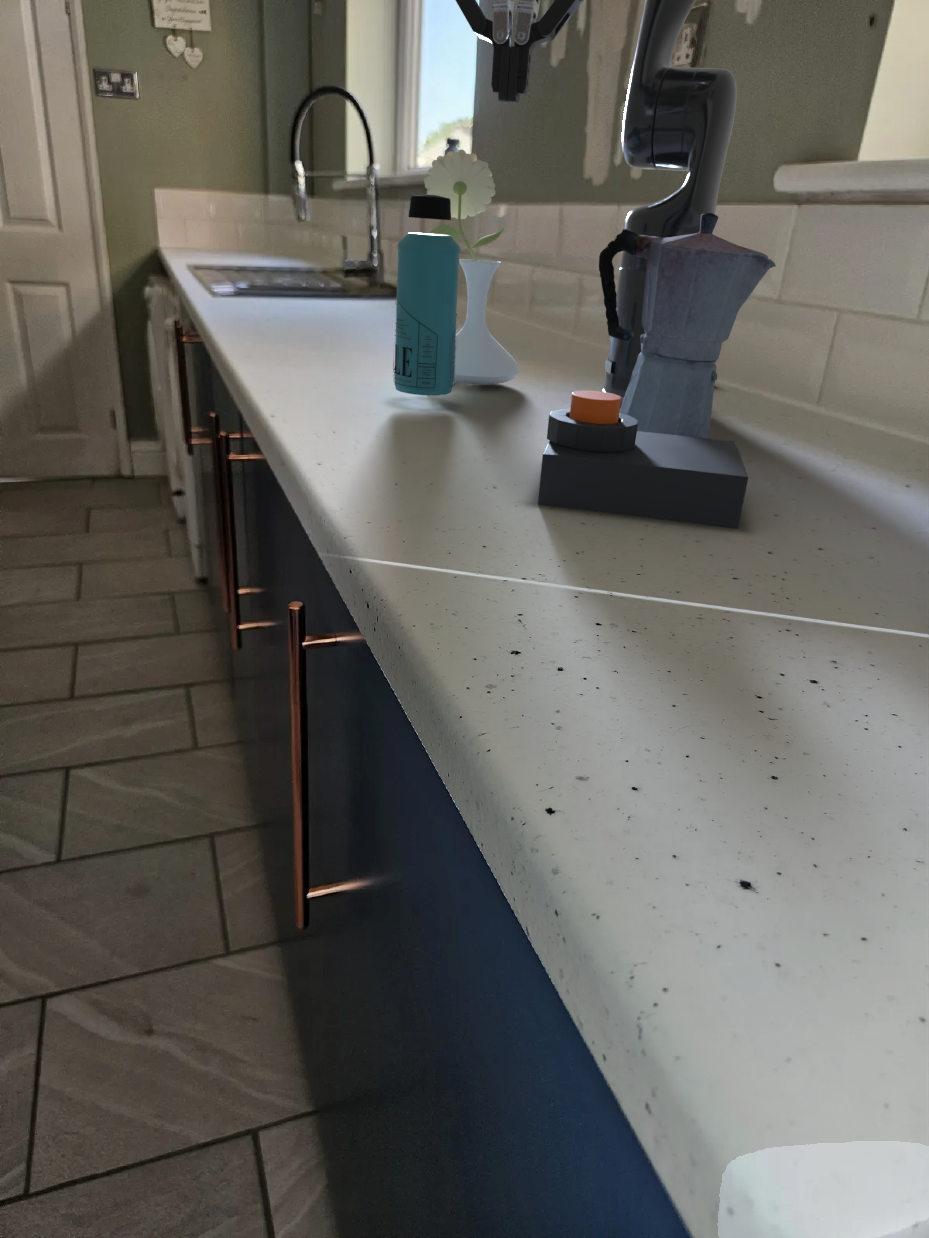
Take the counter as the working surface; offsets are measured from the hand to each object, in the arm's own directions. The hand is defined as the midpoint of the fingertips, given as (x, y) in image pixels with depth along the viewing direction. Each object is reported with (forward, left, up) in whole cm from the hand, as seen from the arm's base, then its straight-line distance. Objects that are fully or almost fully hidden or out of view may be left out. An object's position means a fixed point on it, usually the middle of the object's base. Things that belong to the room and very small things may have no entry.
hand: (508, 102), depth 71 cm
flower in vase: (-20, -18, -27) cm, 38 cm away
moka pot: (-12, +12, -27) cm, 32 cm away
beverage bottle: (-5, -12, -27) cm, 30 cm away
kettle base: (+7, +20, -27) cm, 34 cm away
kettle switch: (+9, +16, -22) cm, 29 cm away
